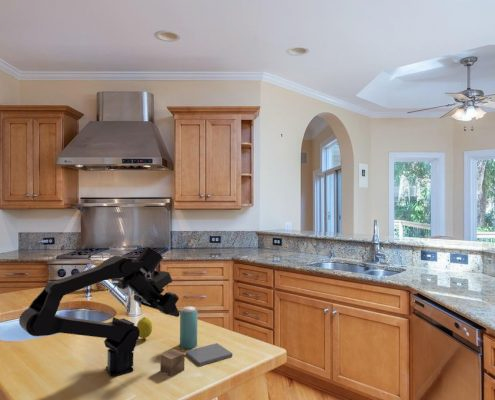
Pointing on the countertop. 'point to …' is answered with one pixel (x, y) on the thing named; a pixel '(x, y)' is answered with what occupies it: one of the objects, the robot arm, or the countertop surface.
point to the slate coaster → (208, 354)
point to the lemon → (144, 327)
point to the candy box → (98, 285)
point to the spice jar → (188, 327)
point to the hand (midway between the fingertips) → (170, 312)
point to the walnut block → (172, 362)
